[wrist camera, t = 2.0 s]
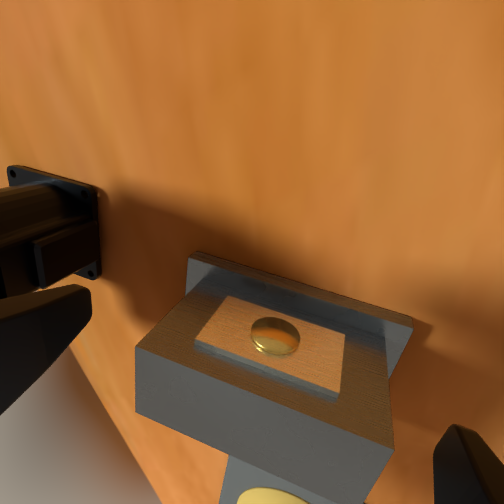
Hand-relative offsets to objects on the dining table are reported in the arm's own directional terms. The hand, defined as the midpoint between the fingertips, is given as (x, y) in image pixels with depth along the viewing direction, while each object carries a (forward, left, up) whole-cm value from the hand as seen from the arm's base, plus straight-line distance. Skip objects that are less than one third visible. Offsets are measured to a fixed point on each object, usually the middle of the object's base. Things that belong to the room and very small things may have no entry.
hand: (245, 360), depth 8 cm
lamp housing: (0, -6, -10) cm, 11 cm away
